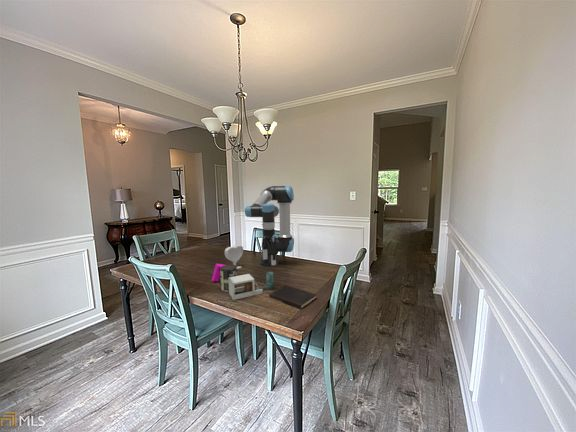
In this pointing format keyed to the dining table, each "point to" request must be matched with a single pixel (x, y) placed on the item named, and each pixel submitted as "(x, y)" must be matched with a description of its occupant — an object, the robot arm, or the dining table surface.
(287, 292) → the hardcover book
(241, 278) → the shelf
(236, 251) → the heart sculpture
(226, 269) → the coffee can
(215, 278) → the toy block
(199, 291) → the dining table surface
